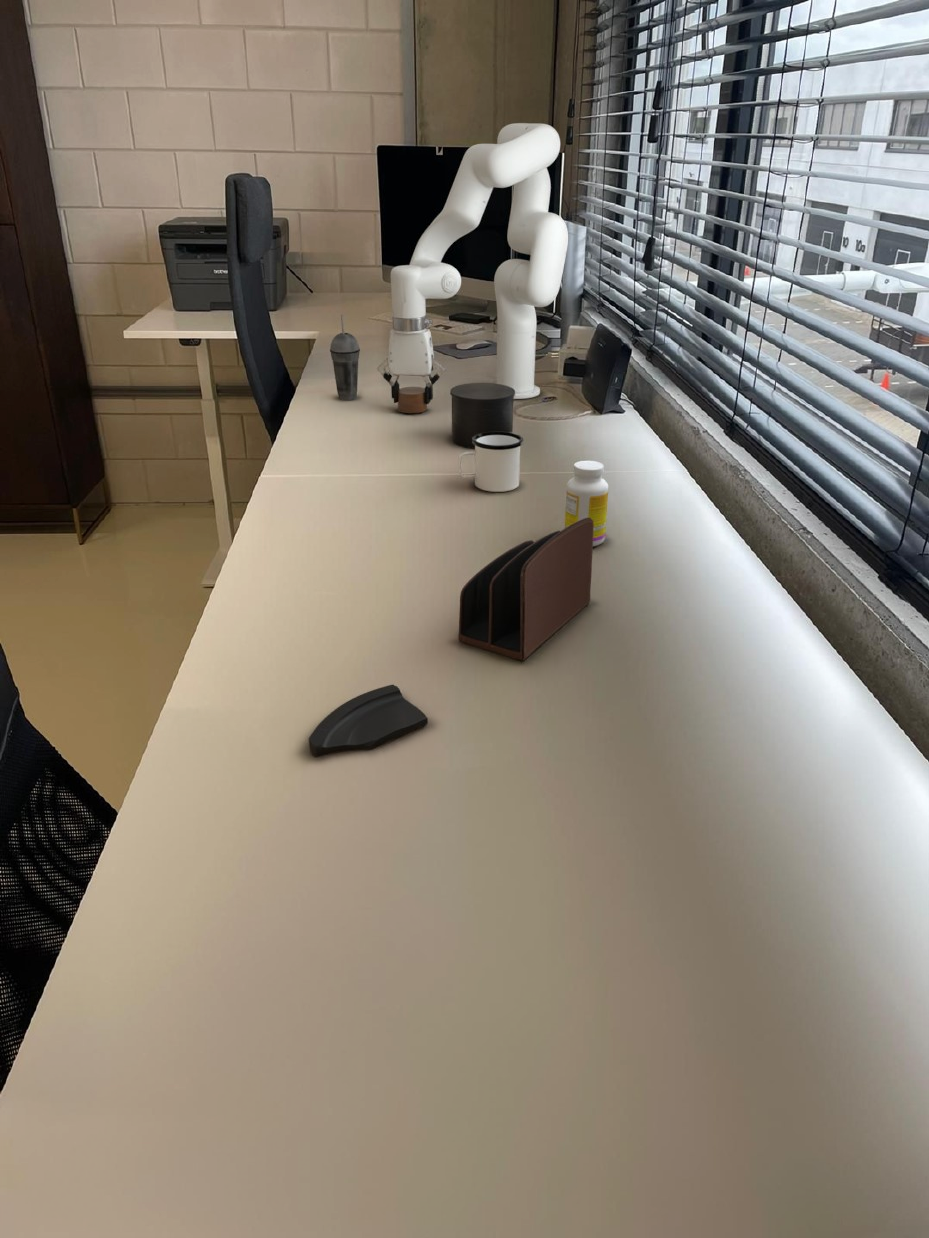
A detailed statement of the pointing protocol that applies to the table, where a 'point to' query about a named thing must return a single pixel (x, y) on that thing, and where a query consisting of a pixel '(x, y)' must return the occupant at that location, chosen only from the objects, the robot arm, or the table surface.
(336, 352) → the beverage cup
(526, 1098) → the table surface
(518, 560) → the letter holder
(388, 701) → the fan shaped piece
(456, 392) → the pot
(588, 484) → the supplement bottle
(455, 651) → the table surface
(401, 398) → the short brown cylinder
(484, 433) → the mug
